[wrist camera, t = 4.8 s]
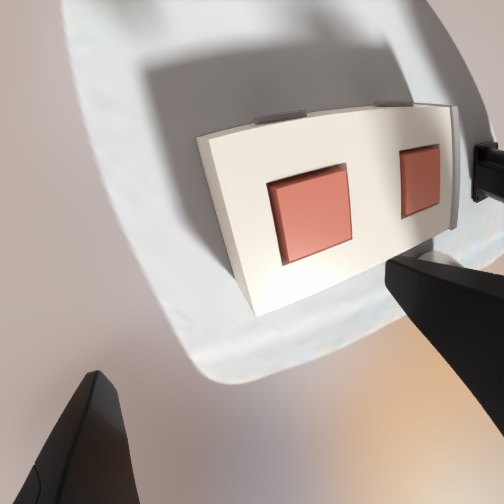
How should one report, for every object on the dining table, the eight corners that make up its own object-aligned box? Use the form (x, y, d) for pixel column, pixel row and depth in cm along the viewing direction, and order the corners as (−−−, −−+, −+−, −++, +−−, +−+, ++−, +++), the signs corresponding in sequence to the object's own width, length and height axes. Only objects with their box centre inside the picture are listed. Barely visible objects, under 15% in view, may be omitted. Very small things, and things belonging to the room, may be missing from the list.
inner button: (419, 144, 15) (439, 148, 14) (420, 194, 17) (439, 201, 16) (383, 151, 15) (405, 155, 13) (387, 206, 16) (406, 215, 15)
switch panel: (414, 100, 17) (457, 103, 13) (419, 210, 21) (456, 227, 17) (194, 132, 14) (207, 132, 10) (235, 281, 18) (257, 320, 14)
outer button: (325, 164, 14) (345, 170, 12) (332, 226, 16) (351, 238, 14) (261, 181, 13) (276, 189, 12) (275, 247, 15) (289, 261, 13)
